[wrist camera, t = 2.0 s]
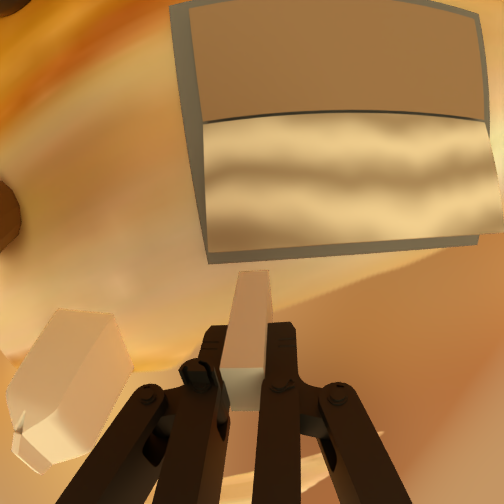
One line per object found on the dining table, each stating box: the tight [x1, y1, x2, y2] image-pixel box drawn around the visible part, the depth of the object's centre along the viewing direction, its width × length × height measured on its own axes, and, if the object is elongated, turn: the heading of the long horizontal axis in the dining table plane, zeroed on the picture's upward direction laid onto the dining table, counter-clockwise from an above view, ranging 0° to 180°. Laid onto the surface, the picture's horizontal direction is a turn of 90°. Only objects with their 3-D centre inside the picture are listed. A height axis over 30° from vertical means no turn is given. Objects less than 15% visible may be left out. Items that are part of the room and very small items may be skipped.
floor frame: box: [169, 0, 490, 264], centre depth 27 cm, size 30×35×3 cm
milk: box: [6, 308, 134, 475], centre depth 35 cm, size 12×12×26 cm
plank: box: [203, 113, 504, 253], centre depth 26 cm, size 12×30×2 cm, turn 98°
